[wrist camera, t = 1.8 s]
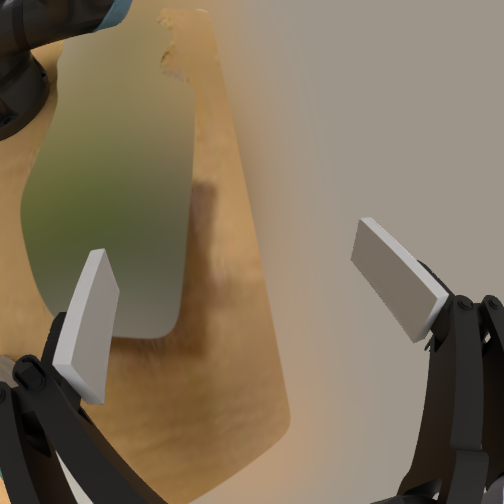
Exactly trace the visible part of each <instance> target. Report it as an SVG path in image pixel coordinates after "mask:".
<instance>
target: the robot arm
mask: <svg viewBox="0 0 504 504" xmlns="http://www.w3.org/2000/svg"><path fill="white" fill-rule="evenodd" d="M131 3H132V0H0V140H2V139H5V138H7V137H9V136H11V135H12V134H14V133H16V132H17V131H19V130H20V129H21V128H23V127H24V126H25V125H26V124H27V123H28V122H30V121H31V120H32V119H33V118H34V116H35V115H36V114H37V113H38V112H39V111H40V109H41V108H42V106H43V105H44V103H45V101H46V99H47V97H48V94H49V90H50V83H49V79H48V75H47V73H46V71H45V69H44V68H43V67H42V66H41V64H40V63H39V62H38V61H37V60H36V58H35V57H34V56H33V55H32V53H31V51H30V50H31V49H34V48H37V47H40V46H43V45H46V44H49V43H53V42H56V41H59V40H63V39H67V38H70V37H74V36H78V35H82V34H87V33H93V32H96V31H98V30H101V29H105V28H109V27H113V26H116V25H118V24H119V23H121V22H122V21H123V19H124V18H125V17H126V15H127V13H128V11H129V9H130V6H131ZM351 261H352V262H353V263H354V265H355V266H356V267H357V268H358V270H359V271H360V272H361V273H362V275H363V276H364V277H365V278H366V280H367V281H368V282H369V284H370V285H371V286H372V287H373V289H374V290H375V291H376V293H377V294H378V295H379V297H380V298H381V299H382V300H383V302H384V303H385V305H386V306H387V307H388V309H389V310H390V311H391V313H392V314H393V315H394V317H395V318H396V320H397V321H398V322H399V324H400V325H401V326H402V328H403V329H404V331H405V332H406V334H407V335H408V336H409V338H410V339H411V341H412V342H413V343H415V342H418V341H420V340H422V339H425V337H426V336H427V334H428V332H429V330H431V331H432V333H433V335H432V337H431V339H430V340H429V342H428V343H427V345H426V346H425V349H424V350H427V349H428V347H429V346H430V350H429V352H430V360H429V371H428V381H427V389H426V397H425V404H424V410H423V416H422V422H421V427H420V432H419V436H418V441H417V445H416V450H415V454H414V458H413V461H412V465H411V468H410V470H409V472H408V473H407V474H406V476H405V477H404V478H403V480H402V482H401V484H400V487H399V489H398V492H397V495H396V496H394V497H391V498H388V499H385V500H382V501H378V502H374V503H371V504H504V307H503V305H502V304H501V302H500V301H499V300H498V298H496V297H495V296H491V295H486V296H485V297H484V299H483V300H482V302H481V303H473V302H472V301H471V300H470V299H469V298H467V297H465V296H463V295H457V296H455V295H454V294H453V293H452V292H451V291H450V290H449V289H448V288H447V286H446V285H445V284H444V283H443V282H442V281H441V280H440V279H439V278H437V276H436V275H435V274H434V273H432V271H431V270H430V269H429V268H428V267H427V266H426V265H425V264H423V263H422V262H420V261H419V260H416V259H415V258H414V257H412V255H411V254H409V252H407V251H406V250H405V249H404V248H403V247H402V246H401V245H400V244H399V243H398V242H397V241H396V240H395V239H394V238H393V237H392V236H391V235H390V234H388V233H387V232H386V231H385V230H384V229H383V228H382V227H381V226H380V225H379V224H378V223H376V222H375V221H374V220H373V219H372V218H370V217H368V218H360V219H359V223H358V228H357V233H356V238H355V243H354V247H353V252H352V256H351ZM119 293H120V291H119V288H118V286H117V283H116V280H115V278H114V275H113V272H112V269H111V266H110V263H109V260H108V257H107V254H106V251H105V249H98V250H91V252H90V254H89V256H88V259H87V261H86V264H85V266H84V268H83V271H82V273H81V276H80V278H79V281H78V284H77V286H76V289H75V292H74V294H73V297H72V300H71V303H70V306H69V309H68V311H67V312H60V313H59V314H58V315H57V317H56V318H55V319H54V321H53V323H52V326H51V328H50V333H49V335H48V338H47V341H46V344H45V347H44V351H43V354H42V358H41V361H39V360H38V359H37V357H36V356H34V355H25V356H23V357H21V358H20V359H19V360H18V361H17V362H16V363H15V365H14V367H13V371H12V378H13V380H14V381H15V382H16V383H17V384H18V385H19V386H17V387H13V388H11V387H10V386H9V385H8V384H7V383H6V382H3V381H0V470H1V473H2V477H3V481H4V484H5V487H6V490H7V493H8V496H9V499H10V502H11V504H78V503H77V500H76V498H75V496H74V494H73V492H72V490H71V488H70V486H69V483H68V481H67V479H66V476H65V474H64V472H63V469H62V467H61V464H60V461H59V459H58V456H57V454H58V455H59V457H60V458H61V460H62V461H63V463H64V464H65V466H66V468H67V469H68V470H69V472H70V473H71V475H72V476H73V478H74V479H75V480H76V482H77V483H78V485H79V486H80V487H81V489H82V490H83V491H84V493H85V494H86V495H87V496H88V498H89V499H90V500H91V501H92V503H93V504H168V503H167V502H166V501H164V500H163V499H162V498H161V497H160V496H159V495H158V494H157V493H156V492H154V491H153V490H152V489H151V488H150V487H149V486H148V485H147V484H146V483H145V482H144V481H143V480H142V479H141V478H140V477H139V476H138V475H137V474H136V473H135V472H134V471H133V470H132V469H131V468H130V466H129V465H128V464H127V463H126V462H125V461H124V460H123V459H122V458H121V456H120V455H119V454H118V453H117V452H116V451H115V450H114V448H113V447H112V446H111V445H110V444H109V442H108V441H107V440H106V439H105V437H104V436H103V435H102V434H101V432H100V431H99V430H98V428H97V427H96V426H95V424H94V423H93V422H92V420H91V419H90V418H89V416H88V415H87V414H86V412H85V411H84V409H83V408H82V407H81V406H80V401H81V398H82V399H83V400H84V401H85V402H86V403H87V404H104V399H105V387H106V377H107V368H108V360H109V352H110V345H111V338H112V332H113V325H114V319H115V314H116V309H117V303H118V298H119ZM488 333H489V334H490V337H491V338H490V339H489V341H488V342H487V343H486V341H485V338H486V336H487V335H488ZM481 447H482V449H481ZM56 452H57V453H56ZM485 487H486V491H487V492H486V493H484V488H485ZM438 492H439V496H438V499H437V500H435V499H432V498H433V496H434V495H435V494H436V493H438ZM483 493H484V494H483Z"/></svg>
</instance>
